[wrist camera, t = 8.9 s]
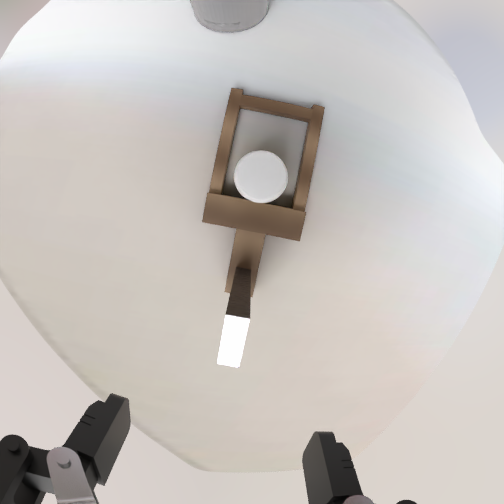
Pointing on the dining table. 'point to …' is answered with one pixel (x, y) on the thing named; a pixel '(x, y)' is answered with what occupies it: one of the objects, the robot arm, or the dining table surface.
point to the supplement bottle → (260, 176)
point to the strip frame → (254, 214)
